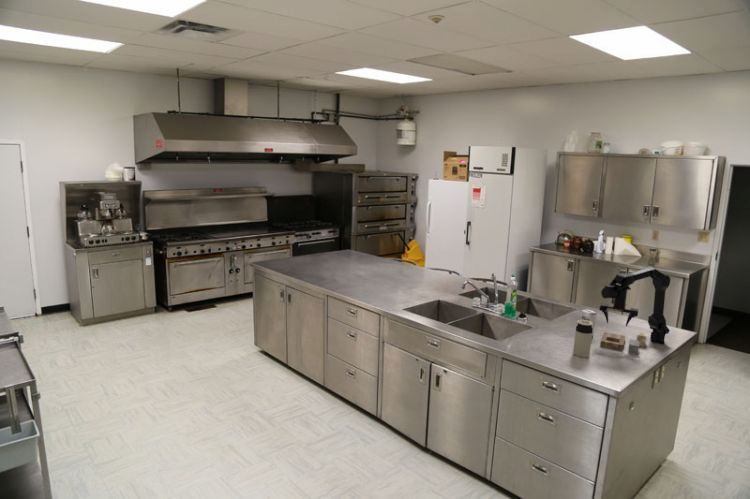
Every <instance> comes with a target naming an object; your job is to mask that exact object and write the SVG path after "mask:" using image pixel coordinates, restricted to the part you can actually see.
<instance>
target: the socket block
mask: <svg viewBox="0 0 750 499" xmlns="http://www.w3.org/2000/svg"><path fill="white" fill-rule="evenodd" d="M602 334H603V335H602V337H601V340H600V344H599V346H600V347H601V348H607V349H612V350H617V351H621V352H622V351H623V350H624V345H625V342H626V335H624V334H619V333H612V332H607V331H603V333H602Z"/></svg>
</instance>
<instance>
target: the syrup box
mask: <svg viewBox="0 0 750 499" xmlns="http://www.w3.org/2000/svg"><path fill="white" fill-rule="evenodd" d="M596 317H597V312H595V311H593V310H590V309H582V310H581V316H580V320H588V321H591V322H592V323H593V325H592V329H593V332H592V337H594V333H595V325H596Z"/></svg>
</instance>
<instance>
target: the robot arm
mask: <svg viewBox="0 0 750 499" xmlns="http://www.w3.org/2000/svg"><path fill="white" fill-rule="evenodd" d="M646 278H651V279H652V285H653V288H654V299H653V309H652V310H653V312H652V314H651V315H648V316H647V318H648V320H647V324H648V326H649V329H650V330H652V331H650V338H649V340H650V342H651V343H655V344H661V345H665V338H666V335H667V334H670V329H669V327H668V326H667V320H666V318H665V315H664V311H665V299H666V291H667V289H668V288H669V286H670V283H671V277H670V275H668V274H664V273H662V272H661V271H659V270H657V269H656V268H653V267H651V266H649V267H646V268H643V269H640V270H637V271H633V272H631V273H625V272H624V273H623V272H622V273H618V274H616V275H615V276H614V277H613V279H612V280H611V282H610V283H609V285H605V286H604V287H603V288H602V289H601V291H600V294H601V297H602V298H603V299H605V300H606V299H611V304H612V305H613V306H610V305H609V304H608V303H600V305H599V311H601V313H603V316H604V317H605V320H606V324H609V311H614V312H622V313H626V314H627V313H628V316H627V320H626V323H625V327H628V325H629V323H630V321H631V320H632V319H633V318H635V317H638V315H639V309H638V308H633V307H630V309H628V308H626V306H627V304H626V302H627V295H628V291H630V290H632V289H631V287H630V286H631V285H633V283H634V282H637V281H639V280H643V279H646Z"/></svg>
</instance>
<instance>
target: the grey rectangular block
mask: <svg viewBox="0 0 750 499" xmlns="http://www.w3.org/2000/svg"><path fill="white" fill-rule="evenodd" d="M628 341H629V342H628V350H627V351H628V354H632V355H636V356H639V355H638V354H639V348H640V346H639V341H638V340H637V339H631V338H629V340H628Z"/></svg>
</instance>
